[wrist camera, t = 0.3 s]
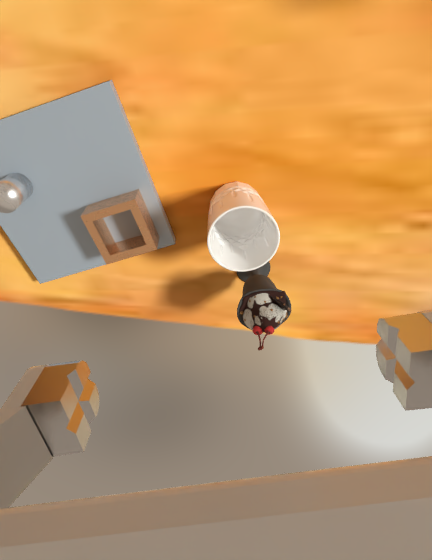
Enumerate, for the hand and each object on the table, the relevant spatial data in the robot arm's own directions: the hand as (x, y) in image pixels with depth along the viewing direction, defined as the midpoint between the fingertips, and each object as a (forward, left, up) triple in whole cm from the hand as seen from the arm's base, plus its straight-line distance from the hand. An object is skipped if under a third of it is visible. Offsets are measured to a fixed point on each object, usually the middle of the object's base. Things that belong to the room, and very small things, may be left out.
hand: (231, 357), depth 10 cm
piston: (0, -23, -37) cm, 43 cm away
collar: (+8, -13, -37) cm, 40 cm away
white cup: (+11, +1, -38) cm, 40 cm away
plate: (+3, -18, -38) cm, 42 cm away
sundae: (+21, +1, -38) cm, 44 cm away
